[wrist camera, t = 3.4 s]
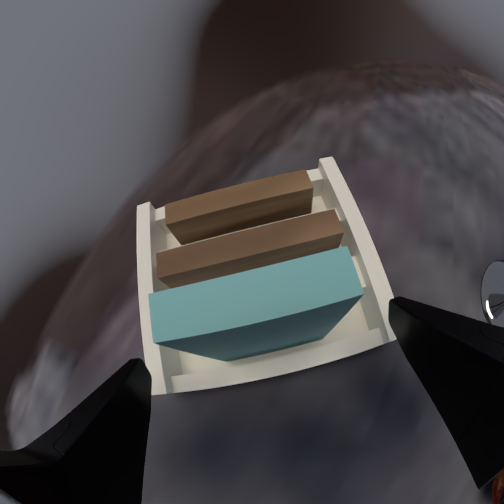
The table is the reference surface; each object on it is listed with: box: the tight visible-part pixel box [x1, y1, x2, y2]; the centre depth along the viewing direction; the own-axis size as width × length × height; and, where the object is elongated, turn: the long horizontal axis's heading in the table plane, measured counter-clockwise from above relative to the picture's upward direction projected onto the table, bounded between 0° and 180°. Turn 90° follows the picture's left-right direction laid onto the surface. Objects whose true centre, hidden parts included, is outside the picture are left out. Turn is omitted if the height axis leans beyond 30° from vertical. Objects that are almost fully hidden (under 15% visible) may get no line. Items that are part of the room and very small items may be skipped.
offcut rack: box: [137, 157, 397, 395], centre depth 17 cm, size 12×14×4 cm
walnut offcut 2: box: [156, 209, 344, 289], centre depth 16 cm, size 2×10×4 cm, turn 102°
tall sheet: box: [148, 246, 364, 362], centre depth 12 cm, size 2×6×10 cm, turn 102°
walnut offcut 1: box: [165, 169, 314, 246], centre depth 18 cm, size 2×9×4 cm, turn 102°
